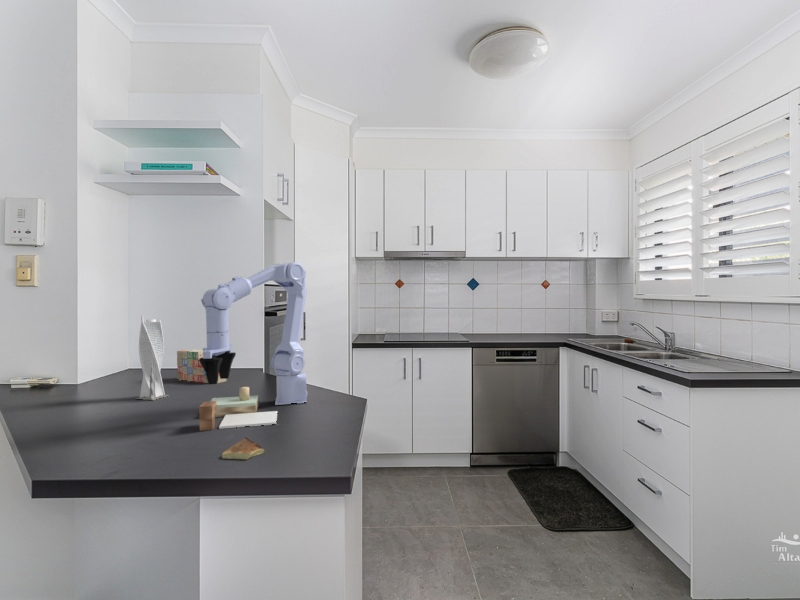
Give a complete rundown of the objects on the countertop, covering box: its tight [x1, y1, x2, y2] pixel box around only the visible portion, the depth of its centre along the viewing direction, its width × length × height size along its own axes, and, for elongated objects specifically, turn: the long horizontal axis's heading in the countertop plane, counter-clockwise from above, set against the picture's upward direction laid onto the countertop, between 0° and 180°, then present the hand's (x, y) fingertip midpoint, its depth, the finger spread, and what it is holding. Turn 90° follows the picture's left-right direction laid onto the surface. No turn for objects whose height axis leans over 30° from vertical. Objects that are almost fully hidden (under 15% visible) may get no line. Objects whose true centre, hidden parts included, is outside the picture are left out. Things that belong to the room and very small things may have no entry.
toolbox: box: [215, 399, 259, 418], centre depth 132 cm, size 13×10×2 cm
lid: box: [210, 386, 259, 408], centre depth 132 cm, size 13×10×4 cm
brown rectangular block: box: [198, 400, 217, 432], centre depth 117 cm, size 3×7×6 cm, turn 14°
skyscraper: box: [135, 314, 170, 401], centre depth 152 cm, size 8×8×28 cm
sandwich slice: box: [221, 437, 265, 460], centre depth 98 cm, size 11×8×2 cm
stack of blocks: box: [176, 348, 228, 384], centre depth 182 cm, size 21×6×12 cm, turn 64°
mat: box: [218, 410, 278, 430], centre depth 122 cm, size 14×12×1 cm
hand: (218, 381), depth 125 cm, fingers open, 7 cm apart
